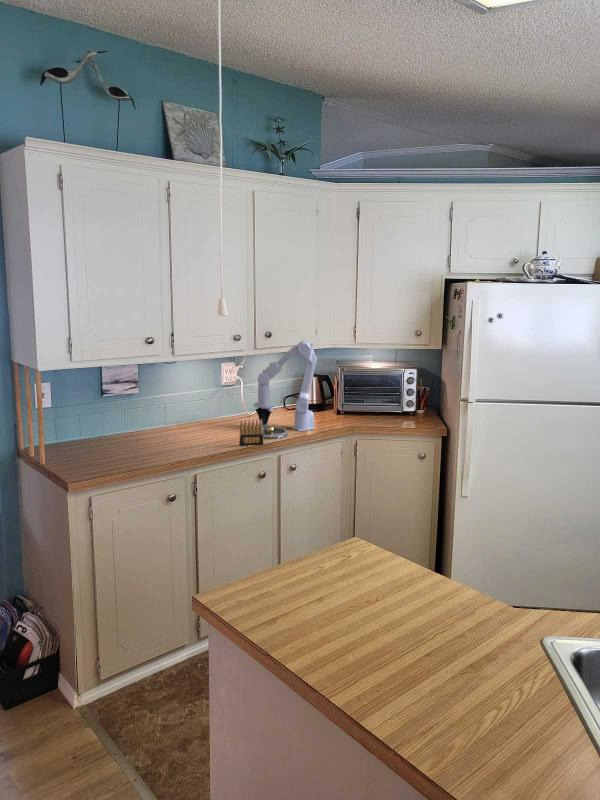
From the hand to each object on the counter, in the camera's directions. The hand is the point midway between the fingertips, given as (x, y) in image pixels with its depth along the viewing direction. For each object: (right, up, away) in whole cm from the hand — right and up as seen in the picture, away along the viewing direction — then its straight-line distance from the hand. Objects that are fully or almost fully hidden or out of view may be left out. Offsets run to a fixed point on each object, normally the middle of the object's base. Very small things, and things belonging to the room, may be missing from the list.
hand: (263, 423), depth 328 cm
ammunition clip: (-4, -9, -32) cm, 33 cm away
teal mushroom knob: (0, -3, 0) cm, 3 cm away
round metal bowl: (+4, -5, -13) cm, 14 cm away
